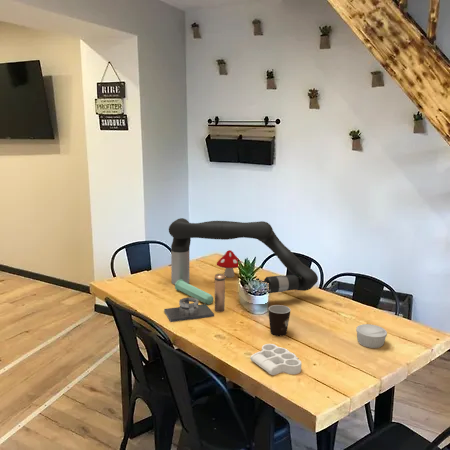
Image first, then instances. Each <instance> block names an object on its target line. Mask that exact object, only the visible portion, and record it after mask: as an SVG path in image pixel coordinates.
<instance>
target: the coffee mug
mask: <svg viewBox="0 0 450 450" xmlns="http://www.w3.org/2000/svg"><path fill="white" fill-rule="evenodd" d="M291 310H292V309H291V308H290V307H289V306H287V305H282V304H281V305H280V304H274V305H270V306H269V307H268V320H269V332H270V334H271V335H272V336H274V337H284V336H287V335H288V334H287V332H288V327H289V323H290V322H289V321H290V315H291Z"/></svg>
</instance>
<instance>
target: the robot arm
mask: <svg viewBox="0 0 450 450" xmlns="http://www.w3.org/2000/svg"><path fill="white" fill-rule="evenodd" d="M168 233H169V234H170V236H171V237H172V243H171V246H170V253H171V254H170V257H171V262H170V263H171V264H170V265H171V267H170V269H171V272H170V273H171V276H170V277H171V284H172V285H174V286H175V283H176V282H177V281H178V280H181V279H182V280H183V281H184V282H186V283H188V284H190V246H191V239H205V240H208V239H209V240H221V241H222V240H224V241H225V240H236V239H241V238H245V239H255V240H258V241H259V242H261V243H263V244H264V245H265V246H266V247H268V249H270V250H271V251H272V252H273V254H274V255H275V256H276V257H277V259H279V261H280V263H281V264H282V265H283V266H284V267H285V268H286V269H287V270H288V271H289V272H290V273H291V274H286V275H272V276H271V275H270V276H266V277H265V278H264V280H261V279H260V278H255V279H256V280H259V281H262V282H267V283H269V290H268V293H267V294H276V293H283V292H286V291H294V290H295V291H300V292H301V291H302V292H303V291H305V292H306V291H309V290H311V289H312V288H313V287H314V286H315V285H316V284H317V283H318V281H319V277H318V275H317V273H316V271H314V269H312V268H311V267H309V266H308V265H306V264H304V263H303V262H302V261H301V260H300V259H299V258H298V257H297V256H296V255H295V254H294V253H293V251H291V250H290V249H289V248H288V247H287V246H286V245H285V244H284V242H282V241H281V240H280V239H279V238H278V236H277V234H276V233H275V231H274V229H273V227H272V225H271V224H270V222H269V223H268V221H263V220H262V221H252V222H241V221H233V220H232V221H229V220H210V221H204V222H198V223H197V222H196V223H194V222H189V220H188V219H186V218H181V217H180V218H177V219H175V220H174V221H172V222H171V223H170V225H169V226H168ZM296 274H297V275H298V276H299V277H298V276H297V275H296Z"/></svg>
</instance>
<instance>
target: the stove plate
mask: <svg viewBox="0 0 450 450" xmlns="http://www.w3.org/2000/svg"><path fill="white" fill-rule="evenodd" d="M178 302H179V303H178V304H179V306H176V307H167V308H163V309H164V310H163V312H164V314H165V315H166V317H167V319H168V320H169V322H170V323H176V322H184V321H190V320H197V319H198V320H199V319H205V318H214V317H215V313H214V312H213V311H212V309H211V308H210V306H208V305H207V304H205V303H202V304H200V303H199V302H200V301H199V300H198V299H196V298H193V297H191V296H188V297H182V298H181V299H179V301H178Z"/></svg>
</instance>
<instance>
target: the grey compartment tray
mask: <svg viewBox="0 0 450 450" xmlns="http://www.w3.org/2000/svg"><path fill="white" fill-rule="evenodd" d="M249 360H250V361H251V362H253V363H255V364H256V365H257V366H259V367H260V368H262V370H264V371H265V372H266V373H268V374H269V375H271V376H276V375H278V374H280V373H281V374H282V373H285V374H288V375H298V374H300V373H301V372H302V360H300V357H297V355H296V354H295V352H291V351H289V349H287V348H285V347H280V346H277V345H276V344H274V343H265V344H263V345H262V346H261V350H259V351H256V352H255V353H253V354H251V356H250V358H249Z"/></svg>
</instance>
